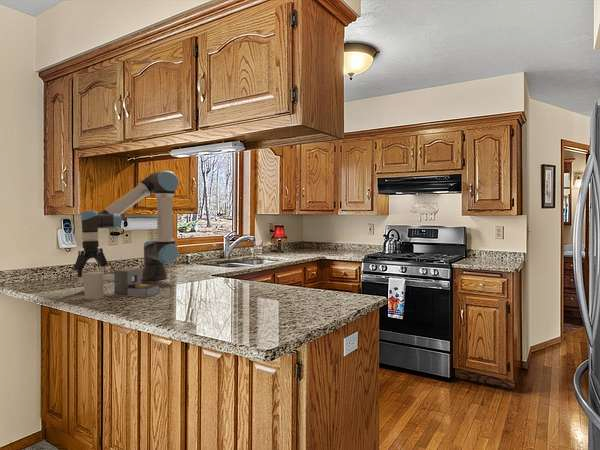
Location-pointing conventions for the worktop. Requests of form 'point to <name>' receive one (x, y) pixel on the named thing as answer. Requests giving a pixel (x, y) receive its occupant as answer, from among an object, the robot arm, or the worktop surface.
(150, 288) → the tray
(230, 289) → the worktop surface
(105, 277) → the shaft
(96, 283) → the grey upright block
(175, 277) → the worktop surface
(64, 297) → the worktop surface
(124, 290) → the bearing block
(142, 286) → the spacer
